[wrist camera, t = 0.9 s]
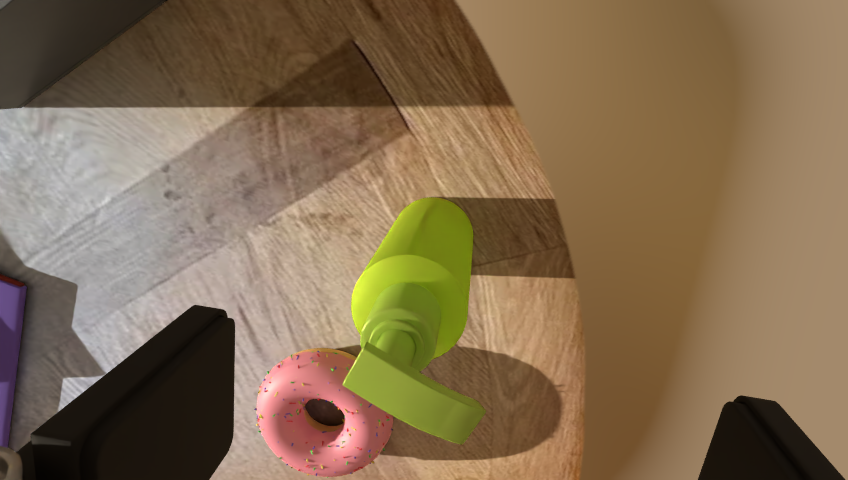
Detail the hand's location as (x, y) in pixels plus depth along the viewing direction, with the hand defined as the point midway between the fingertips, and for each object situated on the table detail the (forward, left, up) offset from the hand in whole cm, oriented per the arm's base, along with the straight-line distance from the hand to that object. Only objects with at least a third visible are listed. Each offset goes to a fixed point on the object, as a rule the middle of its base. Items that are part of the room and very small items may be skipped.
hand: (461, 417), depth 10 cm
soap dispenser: (+6, -1, -29) cm, 29 cm away
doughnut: (+22, -5, -29) cm, 37 cm away
